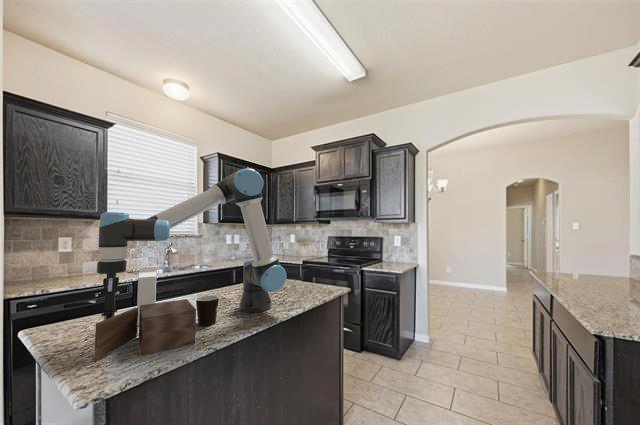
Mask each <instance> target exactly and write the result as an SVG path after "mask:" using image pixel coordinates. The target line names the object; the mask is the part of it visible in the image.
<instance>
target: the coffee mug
mask: <svg viewBox="0 0 640 425" xmlns="http://www.w3.org/2000/svg"><path fill="white" fill-rule="evenodd" d="M219 300H220V296H219V295H204V296H200V297H196V298H195V304H196V316H197V323H198V326H200V327H209V326H212V325H215V324H216V322H217V315H218V308H219V302H220V301H219Z"/></svg>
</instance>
